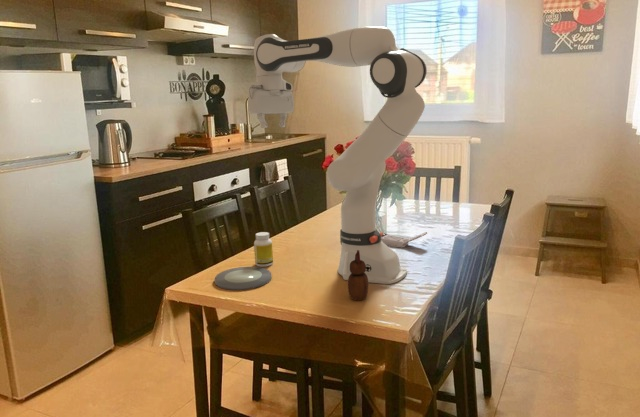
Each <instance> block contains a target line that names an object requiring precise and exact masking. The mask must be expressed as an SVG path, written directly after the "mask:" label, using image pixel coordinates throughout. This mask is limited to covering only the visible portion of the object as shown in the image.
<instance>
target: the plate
mask: <svg viewBox="0 0 640 417" xmlns="http://www.w3.org/2000/svg"><path fill="white" fill-rule="evenodd" d="M271 280H272V272H271V271H270V270H269V269H268V268H267V269H266V268H264V267H259V266H240V267H238V266H237V267H233V268H230V269H226V270H223V271H221V272H219V273H218V274H216V276H214V284H215V285H216V286H217V287H218V288H220V289H223V290H227V291H228V290H229V291H246V290H252V289H256V288H260V287H263V286H265V285H266V284H267V285H268V283H270V282H271Z"/></svg>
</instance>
